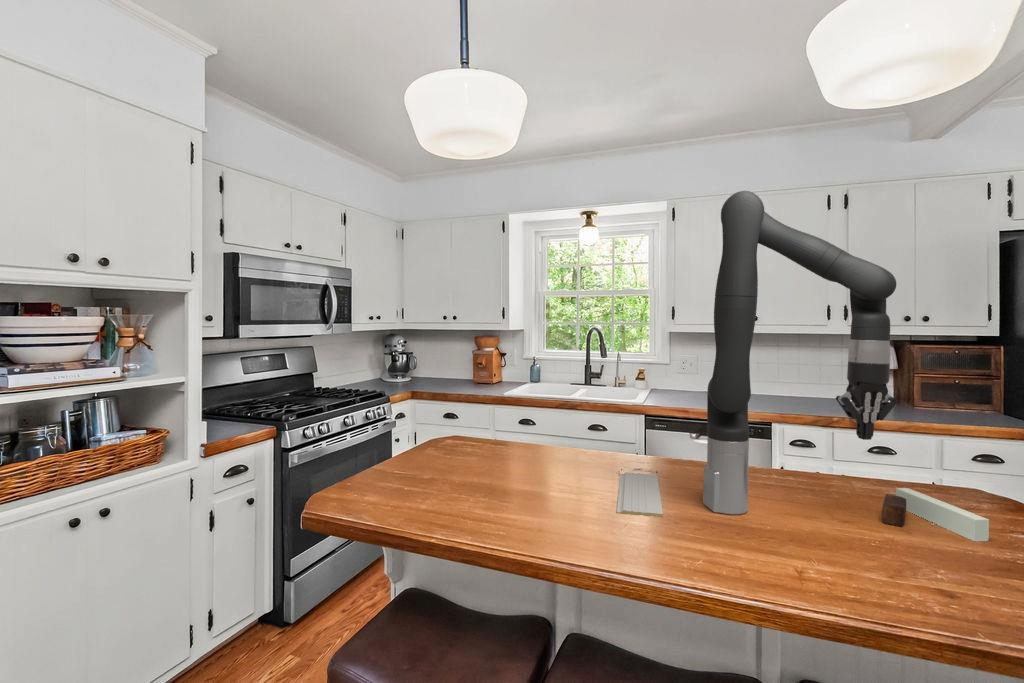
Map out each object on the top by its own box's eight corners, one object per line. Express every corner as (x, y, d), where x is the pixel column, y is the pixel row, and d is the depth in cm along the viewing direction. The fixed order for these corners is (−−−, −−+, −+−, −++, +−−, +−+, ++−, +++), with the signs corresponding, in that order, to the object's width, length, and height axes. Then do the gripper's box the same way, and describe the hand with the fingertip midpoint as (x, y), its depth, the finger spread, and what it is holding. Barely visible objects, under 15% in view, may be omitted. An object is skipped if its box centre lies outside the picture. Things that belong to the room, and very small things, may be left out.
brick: (904, 528, 110) (904, 507, 110) (881, 524, 112) (882, 503, 112) (906, 515, 118) (907, 495, 118) (885, 511, 120) (886, 491, 120)
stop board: (974, 541, 103) (975, 519, 103) (895, 506, 123) (895, 488, 123) (988, 541, 103) (989, 519, 103) (906, 505, 123) (907, 487, 123)
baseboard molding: (610, 515, 119) (662, 520, 116) (610, 503, 119) (663, 508, 116) (615, 476, 149) (657, 479, 146) (615, 466, 149) (657, 469, 146)
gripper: (852, 361, 105) (848, 442, 106) (911, 362, 106) (907, 443, 107) (827, 358, 113) (824, 434, 114) (883, 359, 114) (879, 435, 114)
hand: (864, 438), depth 110 cm, fingers closed
